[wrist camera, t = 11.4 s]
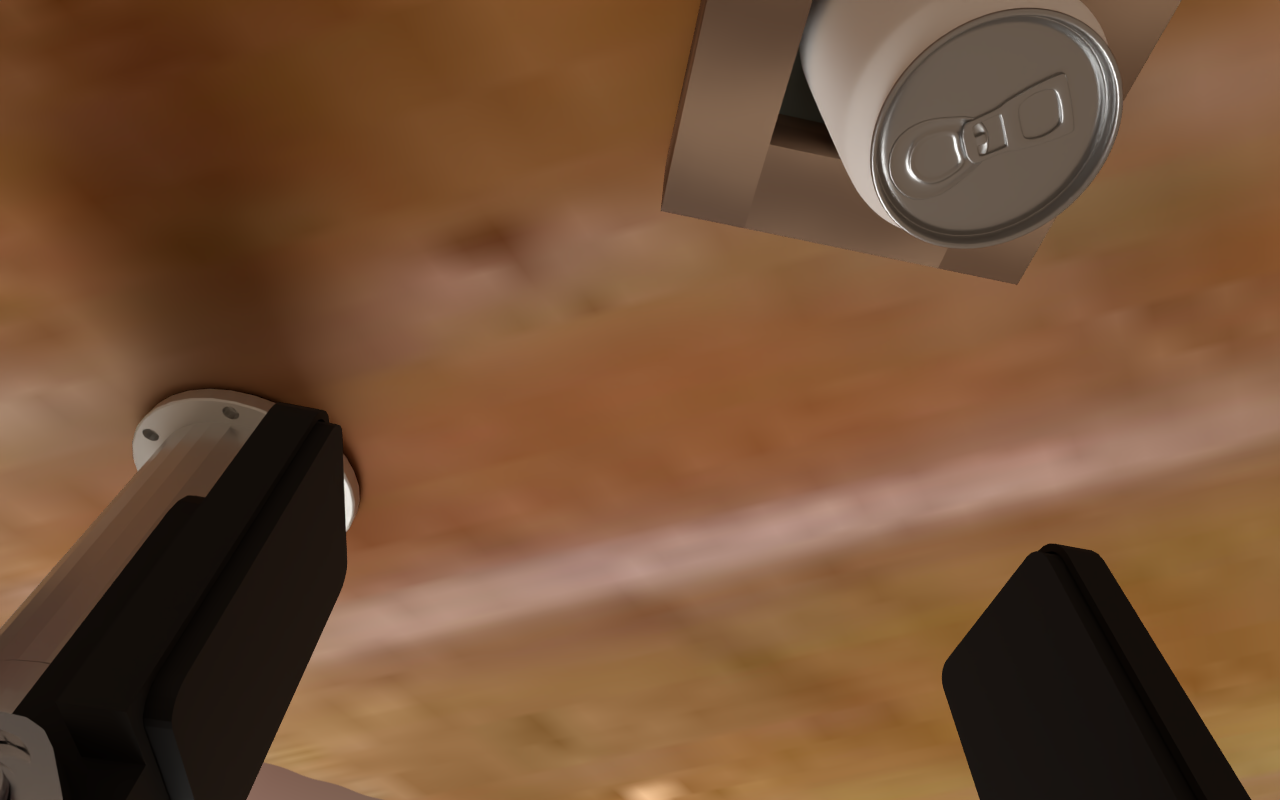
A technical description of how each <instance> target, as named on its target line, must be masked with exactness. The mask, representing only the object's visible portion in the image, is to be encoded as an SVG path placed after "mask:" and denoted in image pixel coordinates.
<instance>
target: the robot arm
mask: <svg viewBox="0 0 1280 800" xmlns="http://www.w3.org/2000/svg"><path fill="white" fill-rule="evenodd" d="M132 449H133V459H134V462H135V465H136V468H137V471H138V472H137V473H136V474H135V475H134V476H133V478H132V479H131V480H130V481H129V482H128V483H127V484H126V486H125V487H124V488H123V489H122V490H121V491H120V492H119V494H118V495H117V496H116V497H115V498H114V499H113V500H112V502H111V503H110V504H109V505H108V506H107V507H106V508H105V510H104V511H103V512H102V513H101V514H100V515H99V516H98V518H97V519H96V520H95V521H94V522H93V523H92V524H91V526H90V527H89V528H88V529H87V530H86V531H85V532H84V534H83V535H82V536H81V537H80V538H79V539H78V540H77V542H76V543H75V544H74V545H73V546H72V547H71V548H70V550H69V551H68V552H67V553H66V554H65V555H64V556H63V558H62V559H61V560H60V561H59V562H58V563H57V564H56V566H55V567H54V568H53V569H52V570H51V571H50V572H49V573H48V575H47V576H46V577H45V578H44V579H43V580H42V581H41V583H40V584H39V585H38V586H37V587H36V588H35V589H34V591H33V592H32V593H31V594H30V595H29V596H28V597H27V599H26V600H25V601H24V602H23V603H22V604H21V605H20V607H19V608H18V609H17V610H16V611H15V612H14V613H13V615H12V616H11V617H10V618H9V619H8V620H7V621H6V623H5V624H4V625H3V626H2V627H1V628H0V800H246V799H247V797H248V795H249V793H250V790H251V788H252V786H253V784H254V781H255V779H256V777H257V775H258V773H259V770H260V768H261V766H262V764H263V762H264V759H265V757H266V755H267V753H268V751H269V748H270V746H271V744H272V742H273V740H274V737H275V735H276V733H277V731H278V728H279V726H280V724H281V722H282V720H283V717H284V715H285V713H286V711H287V709H288V706H289V704H290V702H291V700H292V698H293V695H294V693H295V691H296V689H297V686H298V684H299V682H300V680H301V678H302V675H303V673H304V671H305V669H306V667H307V664H308V662H309V660H310V658H311V656H312V653H313V651H314V649H315V647H316V644H317V642H318V640H319V638H320V636H321V633H322V631H323V629H324V627H325V625H326V622H327V620H328V618H329V616H330V614H331V611H332V609H333V607H334V605H335V603H336V600H337V598H338V596H339V594H340V591H341V589H342V586H343V583H344V580H345V575H346V570H347V545H346V532H347V530H348V529H349V528H350V526H351V524H352V522H353V520H354V518H355V516H356V514H357V511H358V506H359V502H360V495H359V485H358V482H357V479H356V476H355V473H354V470H353V469H352V467H351V465H350V463H349V462H348V460H347V458H346V457H345V455H344V454H343V439H342V428H341V426H340V425H337V424H332V423H329V418H328V414H327V412H326V411H324V410H319V409H314V408H308V407H303V406H297V405H292V404H286V403H281V402H278V403H274V402H271V401H268V400H266V399H263V398H260V397H257V396H254V395H250V394H245V393H241V392H236V391H232V390H219V389H200V390H189V391H186V392H182V393H179V394H175V395H172V396H170V397H168V398H166V399H165V400H163V401H161V402H159V403H158V404H157V405H156V406H155V407H154V408H153V409H152V410H151V411H150V412H149V413H148V414H147V415H146V416H145V417H144V418H143V419H142V420H141V422H140V423H139V424H138V426H137V428H136V430H135V434H134V437H133V441H132ZM942 684H943V688H944V692H945V695H946V698H947V701H948V704H949V707H950V710H951V713H952V716H953V719H954V722H955V725H956V728H957V731H958V734H959V737H960V740H961V743H962V747H963V750H964V753H965V756H966V759H967V762H968V765H969V768H970V771H971V774H972V777H973V780H974V783H975V786H976V789H977V792H978V795H979V798H980V800H1251V799H1250V797H1249V795H1248V794H1247V792H1246V790H1245V789H1244V787H1243V786H1242V784H1241V782H1240V781H1239V779H1238V778H1237V776H1236V774H1235V773H1234V771H1233V769H1232V768H1231V766H1230V765H1229V763H1228V761H1227V760H1226V758H1225V756H1224V755H1223V753H1222V752H1221V750H1220V748H1219V747H1218V745H1217V743H1216V742H1215V740H1214V739H1213V737H1212V735H1211V734H1210V732H1209V730H1208V729H1207V727H1206V726H1205V724H1204V722H1203V721H1202V719H1201V717H1200V716H1199V714H1198V713H1197V711H1196V709H1195V708H1194V706H1193V704H1192V703H1191V701H1190V700H1189V698H1188V696H1187V695H1186V693H1185V691H1184V690H1183V688H1182V687H1181V685H1180V683H1179V682H1178V680H1177V678H1176V677H1175V675H1174V674H1173V672H1172V670H1171V669H1170V667H1169V666H1168V664H1167V662H1166V661H1165V659H1164V657H1163V656H1162V654H1161V653H1160V651H1159V649H1158V648H1157V646H1156V644H1155V643H1154V641H1153V640H1152V638H1151V636H1150V635H1149V633H1148V631H1147V630H1146V628H1145V627H1144V625H1143V623H1142V622H1141V620H1140V618H1139V617H1138V615H1137V614H1136V612H1135V610H1134V609H1133V607H1132V605H1131V604H1130V602H1129V601H1128V599H1127V597H1126V596H1125V594H1124V592H1123V591H1122V589H1121V588H1120V586H1119V584H1118V583H1117V581H1116V579H1115V578H1114V576H1113V575H1112V573H1111V571H1110V570H1109V568H1108V566H1107V565H1106V563H1105V562H1104V560H1103V559H1102V558H1101V557H1100V555H1099V554H1097V553H1095V552H1094V551H1092V550H1086V549H1081V548H1075V547H1070V546H1064V545H1059V544H1047V545H1045V546H1043V547H1042V548H1041V549H1040V550H1039V551H1038V552H1037V551H1035V552H1033V553H1031V554H1029V555H1028V556H1027V557H1026V559H1025V560H1024V561H1023V563H1022V564H1021V565H1020V566H1019V568H1018V569H1017V570H1016V572H1015V573H1014V574H1013V575H1012V577H1011V578H1010V579H1009V581H1008V582H1007V583H1006V584H1005V586H1004V587H1003V588H1002V590H1001V591H1000V592H999V593H998V595H997V596H996V597H995V599H994V600H993V601H992V602H991V604H990V605H989V606H988V608H987V609H986V610H985V611H984V613H983V614H982V615H981V617H980V618H979V619H978V620H977V622H976V623H975V624H974V626H973V627H972V628H971V629H970V631H969V632H968V633H967V635H966V636H965V637H964V638H963V640H962V641H961V642H960V644H959V645H958V646H957V647H956V649H955V650H954V651H953V653H952V654H951V655H950V656H949V658H948V659H947V660H946V662H945V664H944V667H943V671H942Z"/></svg>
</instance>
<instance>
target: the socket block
mask: <svg viewBox="0 0 1280 800" xmlns="http://www.w3.org/2000/svg"><path fill="white" fill-rule="evenodd" d="M812 1H813V0H701V4H700V9H699V13H698V18H697V22H696V27H695V32H694V36H693V41H692V46H691V50H690V55H689V60H688V64H687V69H686V74H685V78H684V83H683V87H682V92H681V97H680V101H679V106H678V111H677V115H676V120H675V125H674V129H673V134H672V138H671V143H670V148H669V152H668V157H667V162H666V166H665V175H664V185H663V195H662V205H661V211H664V212H669V213H674V214H678V215H683V216H688V217H693V218H698V219H702V220H707V221H712V222H717V223H722V224H727V225H731V226H736V227H741V228H746V229H751V230H756V231H760V232H765V233H770V234H775V235H780V236H785V237H789V238H794V239H799V240H804V241H809V242H814V243H818V244H823V245H828V246H833V247H838V248H843V249H847V250H852V251H857V252H862V253H867V254H871V255H876V256H881V257H886V258H891V259H896V260H900V261H905V262H910V263H915V264H920V265H925V266H929V267H934V268H939V269H944V270H949V271H954V272H958V273H963V274H968V275H973V276H978V277H983V278H987V279H992V280H997V281H1002V282H1007V283H1011V284H1016V285H1018V283H1019V281H1020V279H1021V278H1022V276H1023V274H1024V272H1025V271H1026V269H1027V267H1028V265H1029V264H1030V262H1031V260H1032V258H1033V257H1034V255H1035V253H1036V252H1037V250H1038V248H1039V246H1040V245H1041V243H1042V241H1043V239H1044V238H1045V236H1046V234H1047V232H1048V231H1049V229H1050V227H1051V226H1052V224H1053V222H1054V220H1055V219H1056V217H1057V216H1056V217H1055V218H1053V219H1052V220H1051V221H1049V222H1048V223H1046V224H1044V225H1043V226H1041V227H1039V228H1038V229H1036V230H1034V231H1032V232H1030V233H1028V234H1026V235H1024V236H1021V237H1019V238H1017V239H1014V240H1011V241H1008V242H1005V243H1002V244H998V245H994V246H989V247H983V248H973V249H956V248H947V247H941V246H937V245H933V244H930V243H927V242H924V241H922V240H920V239H918V238H916V237H914V236H912V235H910V234H909V233H907V232H906V231H904V230H903V229H901V228H899V227H897V226H895V225H893V224H891V223H889V222H888V221H886V220H885V219H883V218H882V217H880V216H879V215H878V214H877V213H876V212H875V211H873V210H872V209H871V208H870V207H869V205H868V204H867V203H866V202H865V201H864V200H863V198H862V197H861V196H860V194H859V193H858V191H857V190H856V188H855V186H854V185H853V183H852V181H851V179H850V177H849V175H848V173H847V171H846V169H845V167H844V165H843V163H842V160H841V158H840V156H839V154H838V152H837V149H836V147H835V145H834V143H833V140H832V138H831V136H830V134H829V131H828V129H827V127H826V125H825V122H824V120H823V118H822V116H821V113H820V111H819V109H818V106H817V104H816V102H815V99H814V97H813V95H812V92H811V90H810V88H809V85H808V83H807V80H806V78H805V75H804V72H803V69H802V65H801V60H800V52H799V44H800V41H801V38H802V34H803V31H804V28H805V24H806V21H807V17H808V14H809V11H810V7H811V4H812ZM1080 1H1081V2H1082V3H1083V4H1084V5H1085V6H1086V7H1087V8H1088V9H1089V10H1090V11H1091V13H1092V14H1093V15H1094V17H1095V18H1096V19H1097V21H1098V23H1099V24H1100V26H1101V28H1102V30H1103V32H1104V35H1105V37H1106V40H1107V43H1108V47H1109V48H1110V50H1111V52H1112V53H1113V55H1114V57H1115V59H1116V62H1117V64H1118V67H1119V71H1120V74H1121V79H1122V86H1123V101H1124V99H1125V97H1126V95H1127V94H1128V92H1129V90H1130V89H1131V87H1132V85H1133V83H1134V82H1135V80H1136V78H1137V76H1138V75H1139V73H1140V71H1141V69H1142V68H1143V66H1144V64H1145V63H1146V61H1147V59H1148V57H1149V56H1150V54H1151V52H1152V50H1153V49H1154V47H1155V45H1156V43H1157V42H1158V40H1159V38H1160V36H1161V35H1162V33H1163V31H1164V30H1165V28H1166V26H1167V24H1168V23H1169V21H1170V19H1171V17H1172V16H1173V14H1174V12H1175V10H1176V9H1177V7H1178V5H1179V4H1180V2H1181V0H1080Z"/></svg>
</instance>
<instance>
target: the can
mask: <svg viewBox="0 0 1280 800" xmlns="http://www.w3.org/2000/svg"><path fill="white" fill-rule="evenodd" d="M799 52H800V60H801V65H802V69H803V72H804V75H805V78H806V80H807V83H808V85H809V88H810V90H811V92H812V95H813V97H814V99H815V102H816V104H817V106H818V109H819V111H820V113H821V116H822V118H823V120H824V122H825V125H826V127H827V129H828V131H829V134H830V136H831V138H832V140H833V143H834V145H835V147H836V149H837V152H838V154H839V156H840V158H841V160H842V163H843V165H844V167H845V169H846V171H847V173H848V175H849V177H850V179H851V181H852V183H853V185H854V186H855V188H856V190H857V191H858V193H859V194H860V196H861V197H862V198H863V200H864V201H865V202H866V203H867V204H868V205H869V207H870V208H871V209H872V210H873V211H875V212H876V213H877V214H878V215H879V216H880V217H882V218H883V219H885V220H886V221H888V222H889V223H891V224H893V225H895V226H897V227H899V228H901V229H903V230H904V231H906V232H907V233H909V234H910V235H912V236H914V237H916V238H918V239H920V240H922V241H924V242H927V243H930V244H933V245H937V246H941V247H947V248H956V249H973V248H983V247H989V246H994V245H998V244H1002V243H1005V242H1008V241H1011V240H1014V239H1017V238H1019V237H1021V236H1024V235H1026V234H1028V233H1030V232H1032V231H1034V230H1036V229H1038V228H1039V227H1041V226H1043V225H1044V224H1046V223H1048V222H1049V221H1051V220H1052V219H1053V218H1055V217H1056V216H1058V215H1059V214H1060V213H1061V212H1063V211H1064V210H1065V209H1066V208H1068V207H1069V206H1070V205H1071V204H1072V203H1073V202H1074V201H1075V200H1076V199H1077V198H1078V197H1079V196H1080V195H1081V194H1082V193H1083V192H1084V191H1085V190H1086V188H1087V187H1088V186H1089V185H1090V184H1091V182H1092V181H1093V180H1094V178H1095V177H1096V175H1097V174H1098V173H1099V171H1100V169H1101V168H1102V166H1103V165H1104V163H1105V161H1106V159H1107V157H1108V155H1109V153H1110V151H1111V149H1112V147H1113V144H1114V142H1115V139H1116V136H1117V133H1118V130H1119V126H1120V122H1121V117H1122V110H1123V86H1122V79H1121V74H1120V71H1119V67H1118V64H1117V62H1116V59H1115V57H1114V55H1113V53H1112V52H1111V50H1110V48H1109V47H1108V43H1107V40H1106V37H1105V35H1104V32H1103V30H1102V28H1101V26H1100V24H1099V23H1098V21H1097V19H1096V18H1095V17H1094V15H1093V14H1092V13H1091V11H1090V10H1089V9H1088V8H1087V7H1086V6H1085V5H1084V4H1083V3H1082V2H1081V1H1080V0H813V1H812V4H811V7H810V11H809V14H808V17H807V21H806V24H805V28H804V31H803V34H802V38H801V41H800V44H799Z"/></svg>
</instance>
